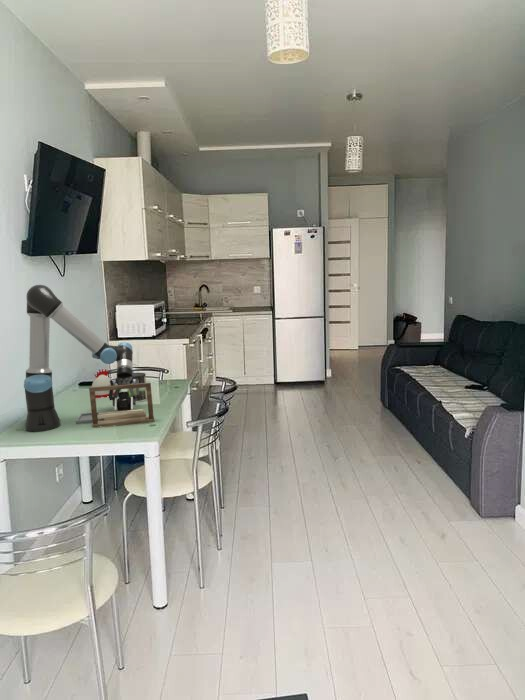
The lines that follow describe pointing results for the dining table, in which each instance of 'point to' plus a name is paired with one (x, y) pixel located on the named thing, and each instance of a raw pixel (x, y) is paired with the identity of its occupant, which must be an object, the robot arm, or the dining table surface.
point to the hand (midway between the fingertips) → (124, 410)
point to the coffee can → (142, 390)
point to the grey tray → (86, 418)
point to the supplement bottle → (123, 401)
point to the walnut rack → (116, 387)
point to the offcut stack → (121, 416)
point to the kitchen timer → (102, 384)
